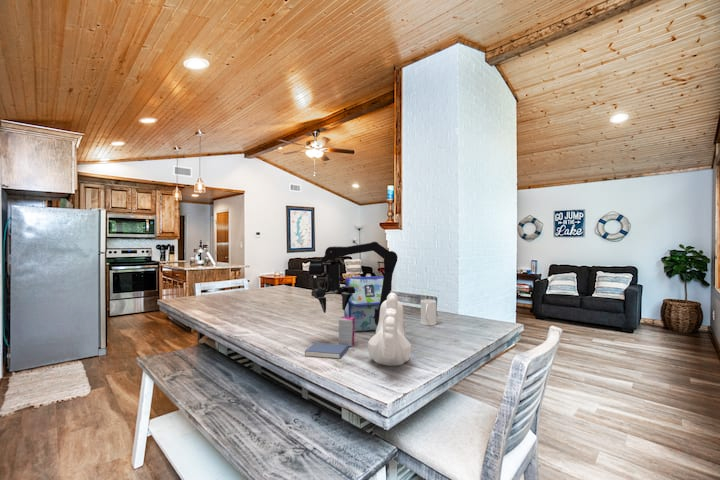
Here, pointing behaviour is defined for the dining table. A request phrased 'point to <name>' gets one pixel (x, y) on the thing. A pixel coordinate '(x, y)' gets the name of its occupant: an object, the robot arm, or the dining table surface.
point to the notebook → (326, 350)
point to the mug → (428, 312)
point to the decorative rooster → (390, 335)
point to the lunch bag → (364, 301)
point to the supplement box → (346, 331)
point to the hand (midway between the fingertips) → (334, 311)
